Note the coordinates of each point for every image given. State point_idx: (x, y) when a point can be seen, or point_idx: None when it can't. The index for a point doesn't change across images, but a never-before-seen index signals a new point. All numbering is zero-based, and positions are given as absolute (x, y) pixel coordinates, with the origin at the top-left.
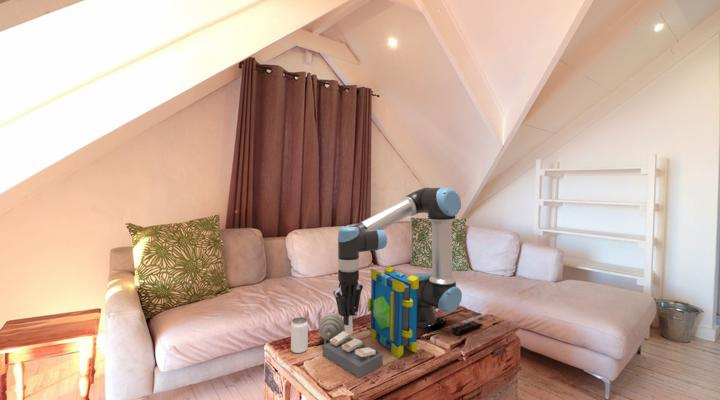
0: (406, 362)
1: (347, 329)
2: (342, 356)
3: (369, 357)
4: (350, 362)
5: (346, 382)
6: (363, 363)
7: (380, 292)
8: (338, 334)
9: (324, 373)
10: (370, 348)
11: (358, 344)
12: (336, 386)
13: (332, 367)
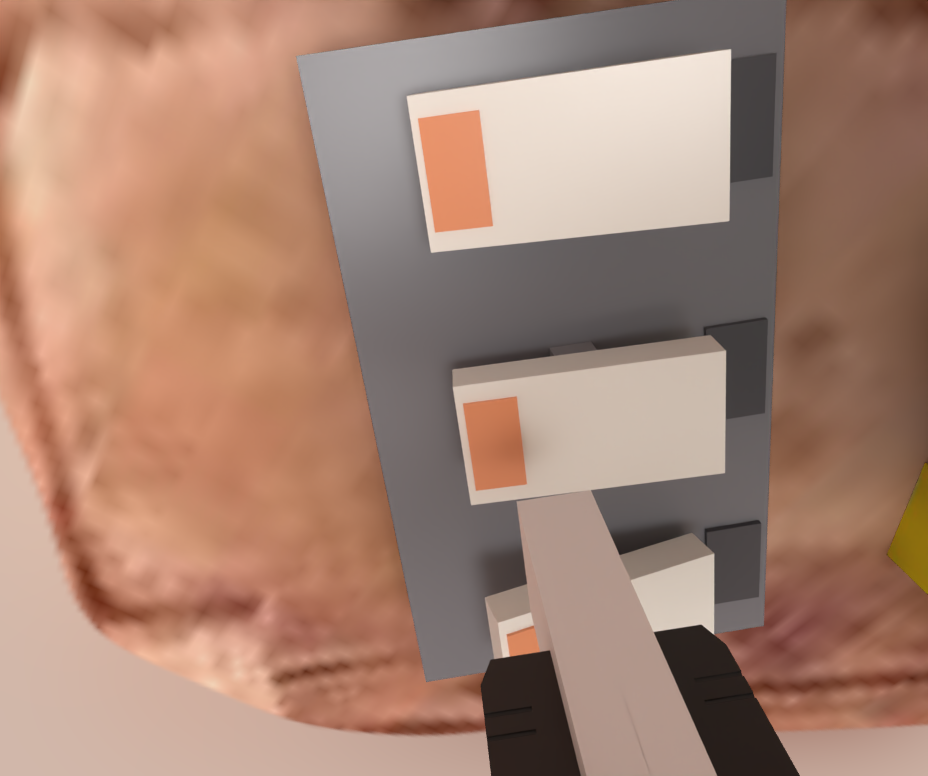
0: (892, 621)
1: (536, 612)
2: (385, 462)
3: None
4: (404, 576)
5: (299, 600)
6: None
7: None
8: (604, 70)
9: (178, 399)
10: (706, 586)
11: (650, 476)
12: (198, 603)
13: (299, 353)
